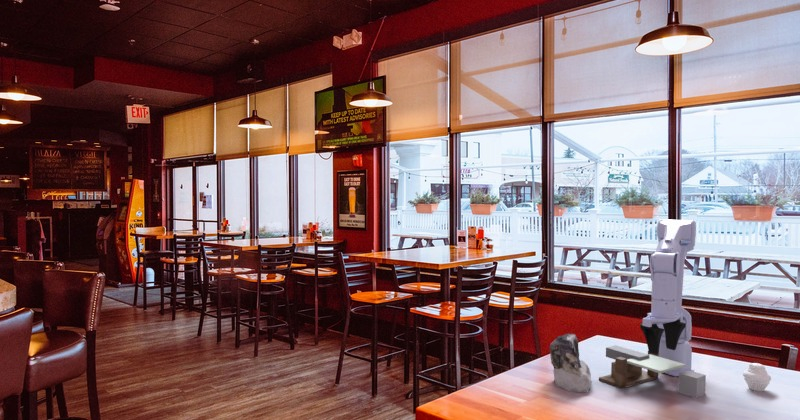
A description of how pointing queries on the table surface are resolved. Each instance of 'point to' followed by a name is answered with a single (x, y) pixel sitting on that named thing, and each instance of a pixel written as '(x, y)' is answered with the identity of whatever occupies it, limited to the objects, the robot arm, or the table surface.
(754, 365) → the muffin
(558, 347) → the stone
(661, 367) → the trapdoor
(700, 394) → the granite cube
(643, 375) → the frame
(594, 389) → the table surface
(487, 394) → the table surface
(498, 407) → the table surface
